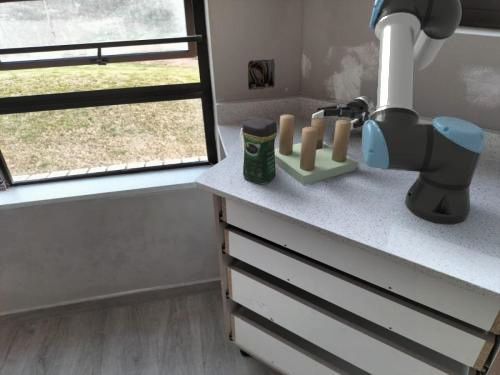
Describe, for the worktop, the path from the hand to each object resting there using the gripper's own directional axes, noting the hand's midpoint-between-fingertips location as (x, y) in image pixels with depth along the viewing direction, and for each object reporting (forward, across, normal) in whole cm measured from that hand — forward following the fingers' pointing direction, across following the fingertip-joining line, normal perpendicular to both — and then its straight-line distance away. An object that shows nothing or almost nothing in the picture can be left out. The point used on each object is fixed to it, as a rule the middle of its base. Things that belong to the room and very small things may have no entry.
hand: (329, 123), depth 126 cm
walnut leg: (+8, 0, -9) cm, 11 cm away
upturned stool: (+15, -4, -9) cm, 18 cm away
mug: (+28, +12, -9) cm, 31 cm away
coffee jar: (+33, +3, -9) cm, 34 cm away
